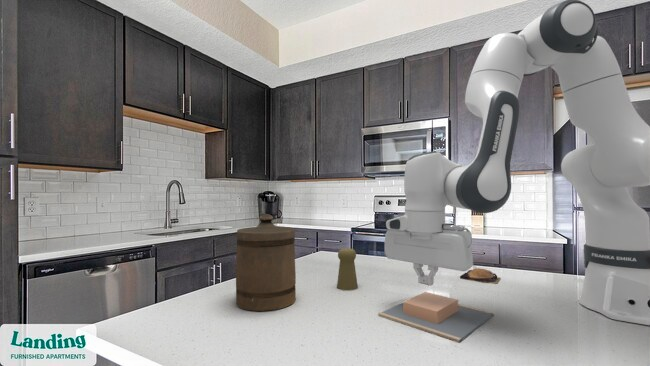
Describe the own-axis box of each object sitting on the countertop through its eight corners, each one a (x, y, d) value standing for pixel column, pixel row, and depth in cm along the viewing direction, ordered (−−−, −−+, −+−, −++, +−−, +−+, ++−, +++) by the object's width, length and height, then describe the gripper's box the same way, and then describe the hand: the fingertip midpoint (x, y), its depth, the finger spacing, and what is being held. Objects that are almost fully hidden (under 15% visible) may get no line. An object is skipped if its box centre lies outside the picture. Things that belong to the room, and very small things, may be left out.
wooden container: (283, 288, 91) (283, 211, 92) (304, 305, 78) (304, 214, 79) (230, 297, 84) (230, 213, 85) (244, 316, 71) (243, 217, 72)
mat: (493, 315, 71) (493, 312, 71) (459, 342, 58) (459, 339, 58) (419, 296, 84) (419, 294, 84) (378, 315, 71) (378, 313, 71)
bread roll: (501, 280, 100) (501, 268, 100) (496, 286, 93) (496, 273, 93) (465, 274, 107) (464, 263, 107) (458, 280, 100) (457, 268, 100)
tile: (425, 302, 78) (458, 310, 72) (403, 313, 71) (437, 323, 65) (425, 291, 78) (458, 299, 72) (403, 302, 71) (437, 311, 65)
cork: (362, 287, 91) (361, 249, 92) (345, 291, 88) (345, 251, 88) (349, 282, 96) (348, 246, 97) (332, 286, 93) (332, 248, 93)
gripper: (477, 224, 68) (478, 290, 67) (395, 219, 83) (395, 273, 82) (465, 227, 63) (466, 297, 63) (380, 221, 78) (381, 278, 78)
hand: (425, 284), depth 73 cm, fingers closed
